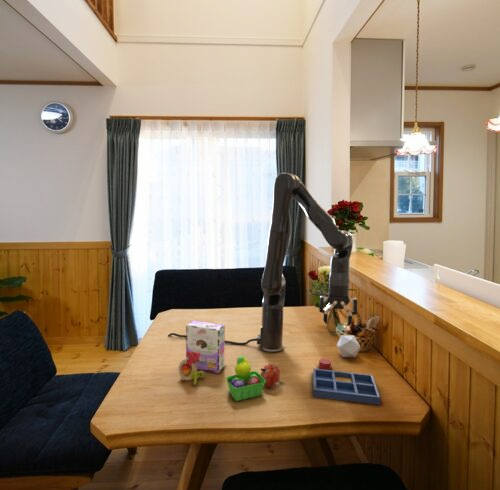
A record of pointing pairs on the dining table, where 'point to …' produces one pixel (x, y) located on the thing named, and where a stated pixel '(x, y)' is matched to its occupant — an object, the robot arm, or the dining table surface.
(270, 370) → the pomegranate
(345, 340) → the die
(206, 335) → the candy box
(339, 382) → the grid
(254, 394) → the fruit basket
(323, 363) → the short red cylinder
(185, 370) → the bird rattle
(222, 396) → the dining table surface
